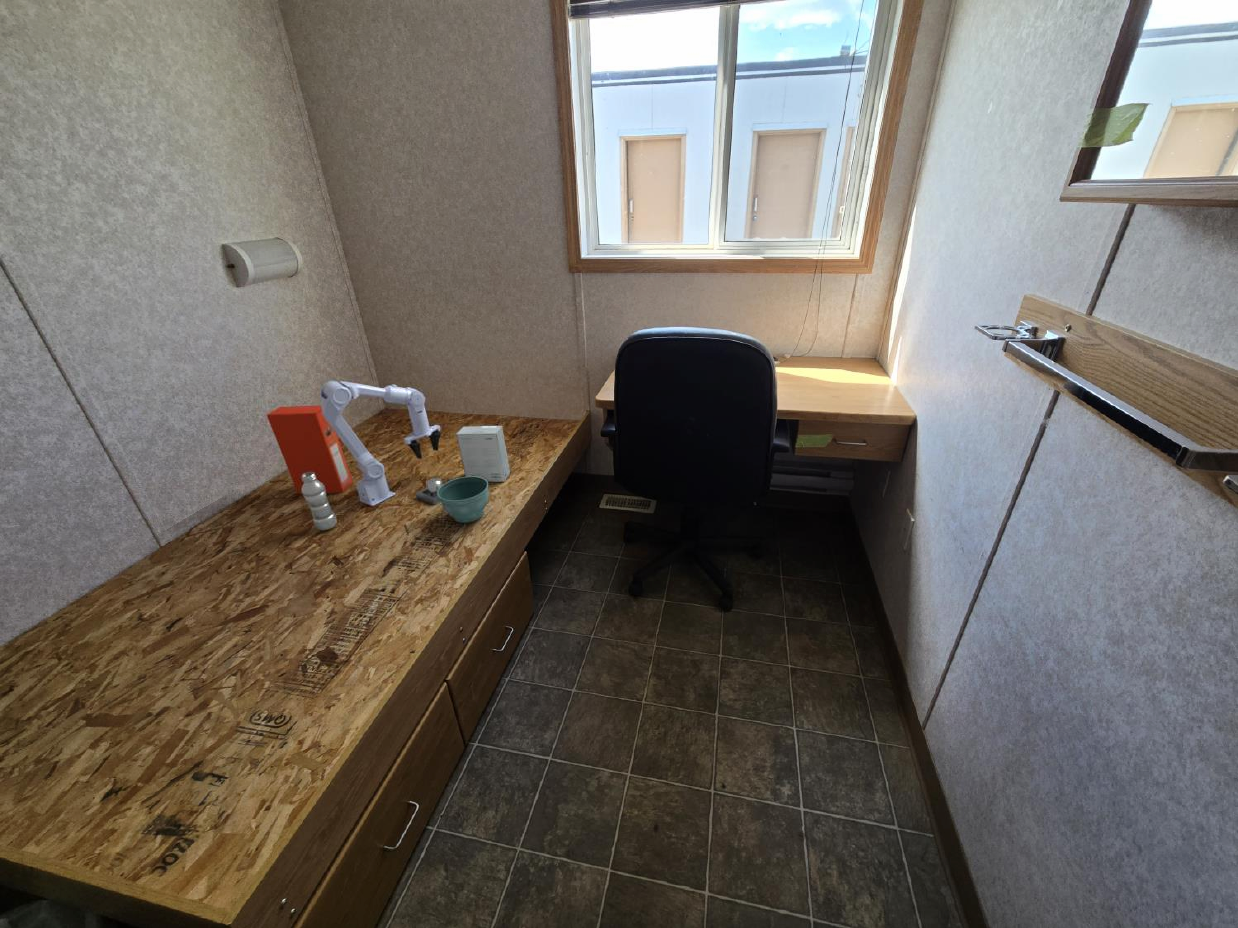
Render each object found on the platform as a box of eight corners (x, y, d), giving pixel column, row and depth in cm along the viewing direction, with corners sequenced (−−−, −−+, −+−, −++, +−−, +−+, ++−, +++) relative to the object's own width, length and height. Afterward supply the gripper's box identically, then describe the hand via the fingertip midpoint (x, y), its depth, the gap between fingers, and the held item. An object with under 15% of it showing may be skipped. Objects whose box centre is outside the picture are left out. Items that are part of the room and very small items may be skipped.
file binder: (342, 493, 187) (315, 413, 172) (297, 494, 187) (266, 414, 173) (353, 482, 194) (327, 404, 179) (309, 483, 195) (280, 406, 180)
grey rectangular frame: (434, 505, 176) (433, 500, 175) (416, 498, 181) (415, 493, 180) (456, 492, 183) (455, 487, 183) (438, 485, 188) (437, 481, 187)
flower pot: (433, 522, 166) (426, 494, 161) (467, 499, 179) (461, 472, 174) (470, 533, 159) (463, 504, 154) (502, 509, 172) (498, 481, 167)
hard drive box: (510, 472, 195) (503, 425, 186) (505, 482, 189) (496, 434, 180) (472, 472, 197) (463, 425, 188) (465, 481, 190) (455, 434, 181)
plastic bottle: (329, 533, 163) (309, 480, 154) (311, 532, 164) (290, 478, 155) (343, 522, 168) (324, 470, 159) (325, 521, 170) (306, 469, 161)
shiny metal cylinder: (427, 497, 181) (423, 483, 178) (437, 491, 185) (433, 476, 182) (437, 500, 179) (434, 485, 176) (447, 493, 183) (444, 479, 180)
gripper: (409, 430, 177) (418, 464, 183) (442, 416, 188) (449, 448, 194) (397, 426, 181) (406, 459, 187) (430, 413, 191) (437, 445, 197)
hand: (427, 454), depth 191 cm, fingers open, 7 cm apart
